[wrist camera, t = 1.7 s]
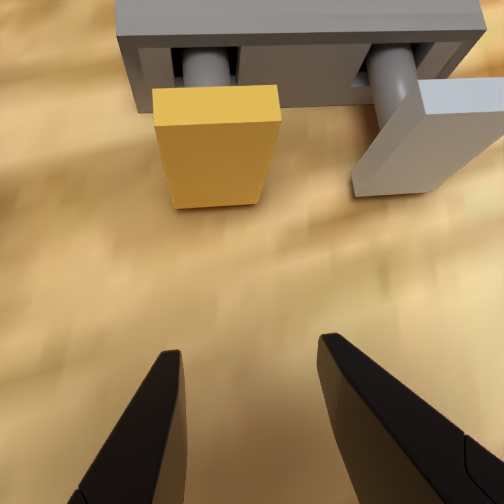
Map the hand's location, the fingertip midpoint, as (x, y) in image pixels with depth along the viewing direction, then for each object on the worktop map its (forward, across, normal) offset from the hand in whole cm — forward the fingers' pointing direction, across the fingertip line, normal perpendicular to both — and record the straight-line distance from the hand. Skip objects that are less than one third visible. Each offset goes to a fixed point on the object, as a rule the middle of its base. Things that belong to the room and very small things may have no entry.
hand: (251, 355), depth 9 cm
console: (+22, -5, -5) cm, 23 cm away
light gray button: (+17, -10, -1) cm, 20 cm away
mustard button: (+17, 0, -1) cm, 17 cm away
